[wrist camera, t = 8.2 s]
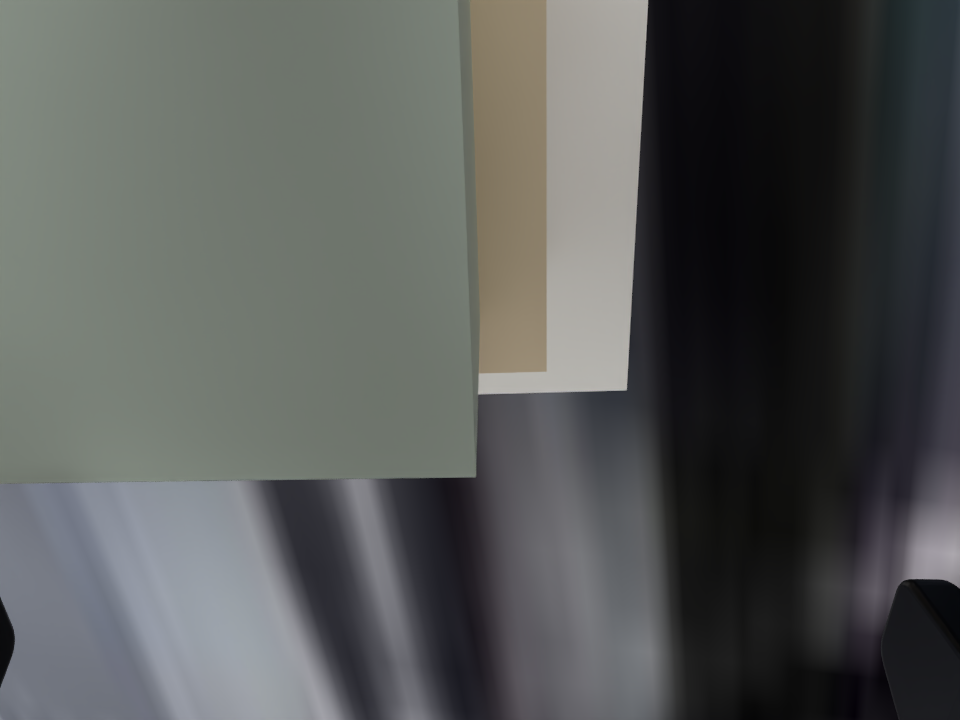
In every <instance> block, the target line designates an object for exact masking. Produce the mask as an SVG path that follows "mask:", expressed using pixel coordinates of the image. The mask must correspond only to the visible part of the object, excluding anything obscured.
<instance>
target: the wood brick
mask: <svg viewBox="0 0 960 720" xmlns="http://www.w3.org/2000/svg"><path fill="white" fill-rule="evenodd" d="M470 13H471V46H472V78H473V110H474V142H475V174H476V206H477V238H478V270H479V302H480V345H479V373H516V372H547V107H546V0H470Z"/></svg>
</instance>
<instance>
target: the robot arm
mask: <svg viewBox="0 0 960 720" xmlns="http://www.w3.org/2000/svg"><path fill="white" fill-rule="evenodd" d="M14 644H15V636H14V629H13V626H12V624H11V621H10V619H9V617H8V614H7V612H6V610H5V607H4V605H3V602H2V600H1V598H0V687H1V684H2V682H3V679H4V676H5V674H6V671H7V668H8V665H9V663H10V660H11V657H12V654H13V650H14ZM881 653H882V660H883V664H884V668H885V672H886V675H887V679H888V682H889V686H890V689H891V693H892V697H893V700H894V704H895V707H896V711H897V715H898V718H899V720H960V589H959V588H958V587H957V586H955V585H954V584H952V583H950V582H948V581H945V580H930V579H909V580H905V581H903V582H902V583H901V584H900V585H899V586H898V589H897V591H896V594H895V597H894V600H893V603H892V607H891V610H890V613H889V616H888V619H887V623H886V626H885V629H884V632H883V636H882V642H881Z"/></svg>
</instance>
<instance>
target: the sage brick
mask: <svg viewBox="0 0 960 720" xmlns="http://www.w3.org/2000/svg"><path fill="white" fill-rule="evenodd" d="M479 345H480V302H479V270H478V238H477V206H476V174H475V142H474V110H473V78H472V46H471V13H470V0H0V484H15V483H87V482H160V481H232V480H305V479H378V478H450V477H476V456H477V419H478V382H479Z"/></svg>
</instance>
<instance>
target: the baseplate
mask: <svg viewBox="0 0 960 720" xmlns="http://www.w3.org/2000/svg"><path fill="white" fill-rule="evenodd" d="M647 13H648V0H546V107H547V372H516V373H479V382H478V394H510V393H547V392H585V391H622V390H627V375H628V357H629V339H630V321H631V303H632V285H633V266H634V248H635V230H636V212H637V194H638V176H639V158H640V140H641V121H642V103H643V85H644V67H645V49H646V31H647Z"/></svg>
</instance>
